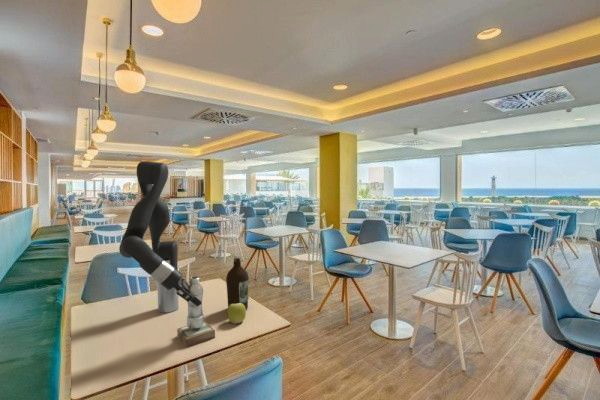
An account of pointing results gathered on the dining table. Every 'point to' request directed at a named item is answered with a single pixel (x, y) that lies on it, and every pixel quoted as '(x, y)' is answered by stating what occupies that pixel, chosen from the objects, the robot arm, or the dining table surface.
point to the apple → (236, 313)
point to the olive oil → (237, 284)
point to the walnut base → (195, 334)
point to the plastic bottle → (195, 312)
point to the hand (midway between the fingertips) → (199, 301)
